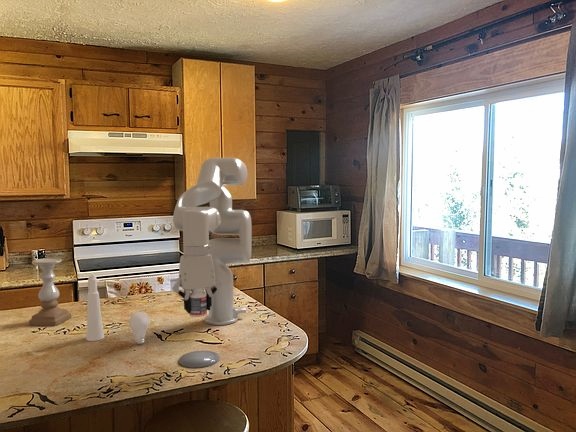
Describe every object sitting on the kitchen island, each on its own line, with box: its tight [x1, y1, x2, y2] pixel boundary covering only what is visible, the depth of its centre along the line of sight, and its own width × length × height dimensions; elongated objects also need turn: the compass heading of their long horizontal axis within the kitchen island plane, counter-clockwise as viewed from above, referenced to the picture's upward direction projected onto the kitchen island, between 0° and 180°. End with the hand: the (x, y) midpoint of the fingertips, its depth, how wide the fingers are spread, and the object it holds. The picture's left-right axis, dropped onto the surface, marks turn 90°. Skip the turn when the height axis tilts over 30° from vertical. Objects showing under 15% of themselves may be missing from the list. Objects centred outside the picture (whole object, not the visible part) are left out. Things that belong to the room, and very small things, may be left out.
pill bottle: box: [188, 288, 208, 318], centre depth 145 cm, size 5×5×9 cm
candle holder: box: [28, 257, 72, 327], centre depth 185 cm, size 11×11×24 cm
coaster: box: [178, 350, 220, 369], centre depth 147 cm, size 12×12×1 cm
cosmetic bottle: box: [85, 274, 105, 342], centre depth 166 cm, size 6×6×22 cm
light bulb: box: [128, 310, 151, 345], centre depth 160 cm, size 7×7×11 cm
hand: (198, 309), depth 145 cm, fingers closed on pill bottle, 5 cm apart
